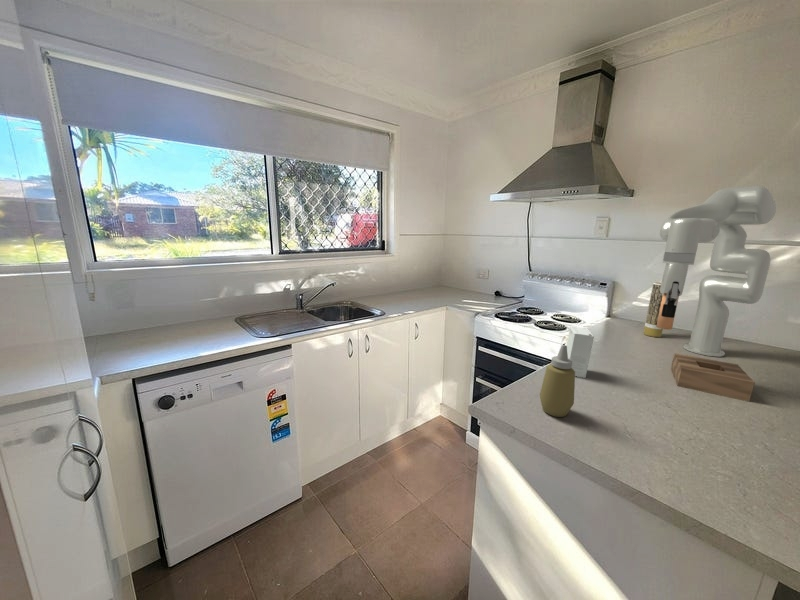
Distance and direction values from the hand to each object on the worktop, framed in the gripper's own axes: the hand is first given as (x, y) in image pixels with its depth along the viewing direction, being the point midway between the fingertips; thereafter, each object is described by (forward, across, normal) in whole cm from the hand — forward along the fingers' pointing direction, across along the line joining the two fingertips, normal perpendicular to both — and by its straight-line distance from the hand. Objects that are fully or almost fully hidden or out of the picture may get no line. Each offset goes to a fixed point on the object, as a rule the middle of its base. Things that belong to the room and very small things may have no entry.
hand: (666, 314), depth 105 cm
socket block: (+21, -2, +13) cm, 25 cm away
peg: (+4, 0, 0) cm, 4 cm away
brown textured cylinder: (+21, -57, +2) cm, 61 cm away
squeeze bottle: (+21, +47, -23) cm, 56 cm away
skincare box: (+21, +15, -22) cm, 34 cm away
